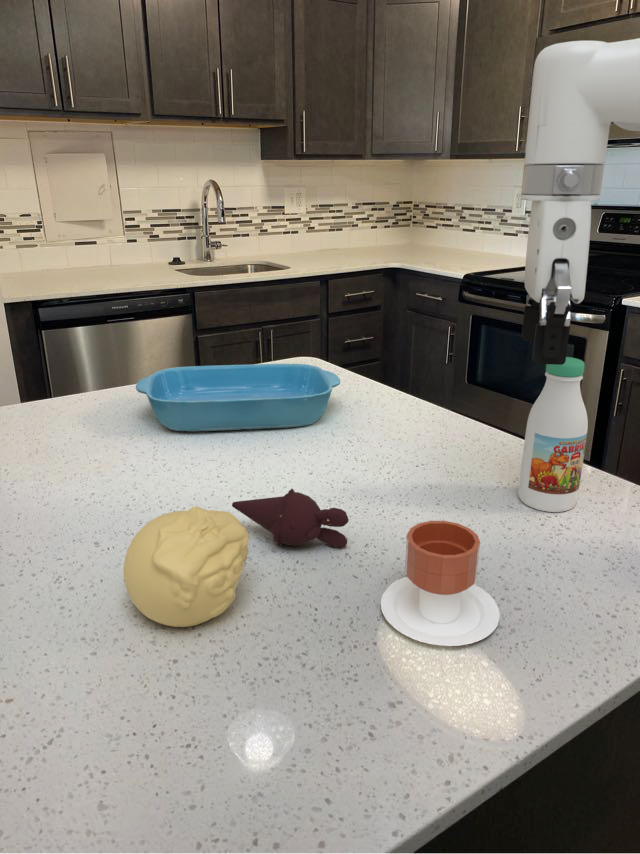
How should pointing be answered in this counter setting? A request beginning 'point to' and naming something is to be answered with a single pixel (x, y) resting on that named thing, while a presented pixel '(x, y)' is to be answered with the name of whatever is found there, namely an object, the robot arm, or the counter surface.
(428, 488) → the counter surface
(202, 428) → the casserole dish
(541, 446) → the milk bottle
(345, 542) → the icecream
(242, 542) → the sculpture
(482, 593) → the candle holder
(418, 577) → the bowl
